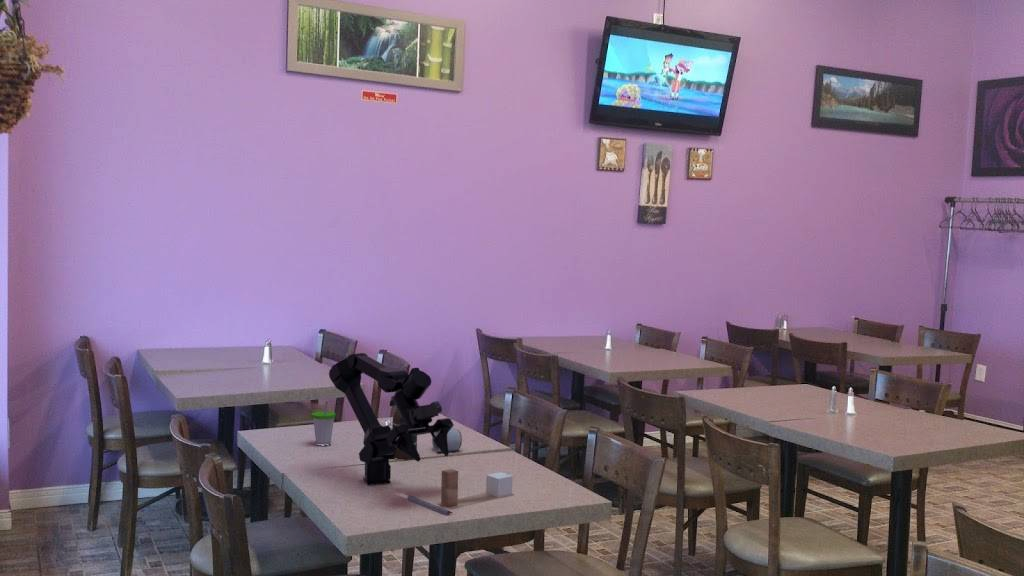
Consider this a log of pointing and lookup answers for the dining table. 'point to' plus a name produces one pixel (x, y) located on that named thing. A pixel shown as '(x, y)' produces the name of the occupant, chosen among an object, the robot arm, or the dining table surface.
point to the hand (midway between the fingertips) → (433, 458)
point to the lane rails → (428, 505)
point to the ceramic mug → (451, 440)
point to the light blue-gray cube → (499, 484)
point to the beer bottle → (402, 455)
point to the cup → (323, 426)
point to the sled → (451, 492)
